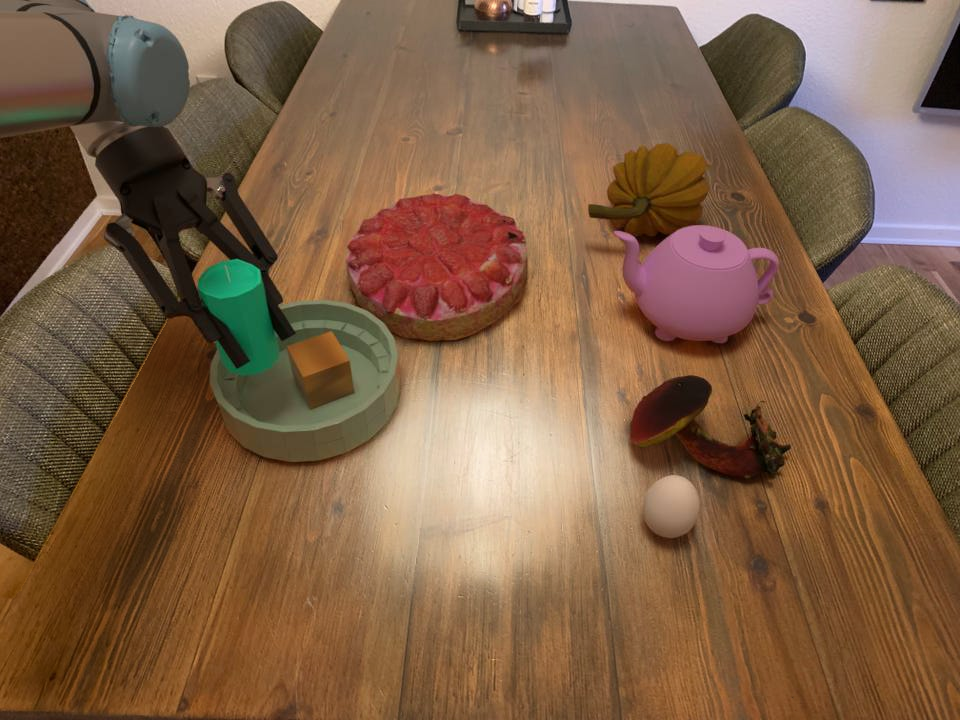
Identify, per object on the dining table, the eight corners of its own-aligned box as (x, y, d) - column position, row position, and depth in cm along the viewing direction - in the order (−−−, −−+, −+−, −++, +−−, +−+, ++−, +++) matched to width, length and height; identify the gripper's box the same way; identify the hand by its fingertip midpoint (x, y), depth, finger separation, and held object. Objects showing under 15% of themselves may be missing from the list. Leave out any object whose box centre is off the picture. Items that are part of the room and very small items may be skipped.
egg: (650, 495, 75) (666, 451, 70) (697, 521, 73) (717, 478, 68) (627, 531, 72) (641, 488, 67) (676, 560, 70) (695, 517, 65)
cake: (491, 209, 110) (491, 165, 104) (557, 317, 95) (561, 273, 89) (334, 247, 105) (324, 202, 99) (376, 368, 89) (367, 324, 83)
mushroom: (712, 482, 86) (635, 386, 86) (804, 440, 79) (720, 334, 78) (686, 543, 77) (599, 435, 77) (788, 502, 69) (692, 382, 69)
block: (309, 410, 81) (302, 377, 77) (293, 379, 85) (286, 346, 81) (354, 393, 83) (349, 360, 79) (337, 363, 87) (331, 330, 83)
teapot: (602, 354, 90) (621, 268, 80) (593, 277, 101) (608, 193, 91) (776, 361, 90) (815, 276, 80) (747, 284, 101) (779, 200, 91)
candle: (251, 384, 73) (224, 294, 64) (209, 361, 75) (178, 271, 66) (291, 349, 76) (271, 260, 68) (250, 328, 78) (225, 239, 70)
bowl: (253, 495, 74) (241, 461, 70) (202, 369, 86) (189, 333, 82) (430, 422, 81) (429, 387, 77) (359, 316, 94) (354, 280, 90)
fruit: (703, 221, 115) (700, 260, 98) (604, 214, 119) (584, 250, 102) (715, 133, 109) (714, 157, 92) (610, 129, 113) (590, 152, 96)
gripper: (203, 127, 75) (323, 315, 79) (33, 192, 66) (180, 403, 70) (220, 94, 69) (349, 301, 73) (35, 162, 59) (196, 395, 64)
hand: (266, 350), depth 71 cm, fingers closed on candle, 5 cm apart
